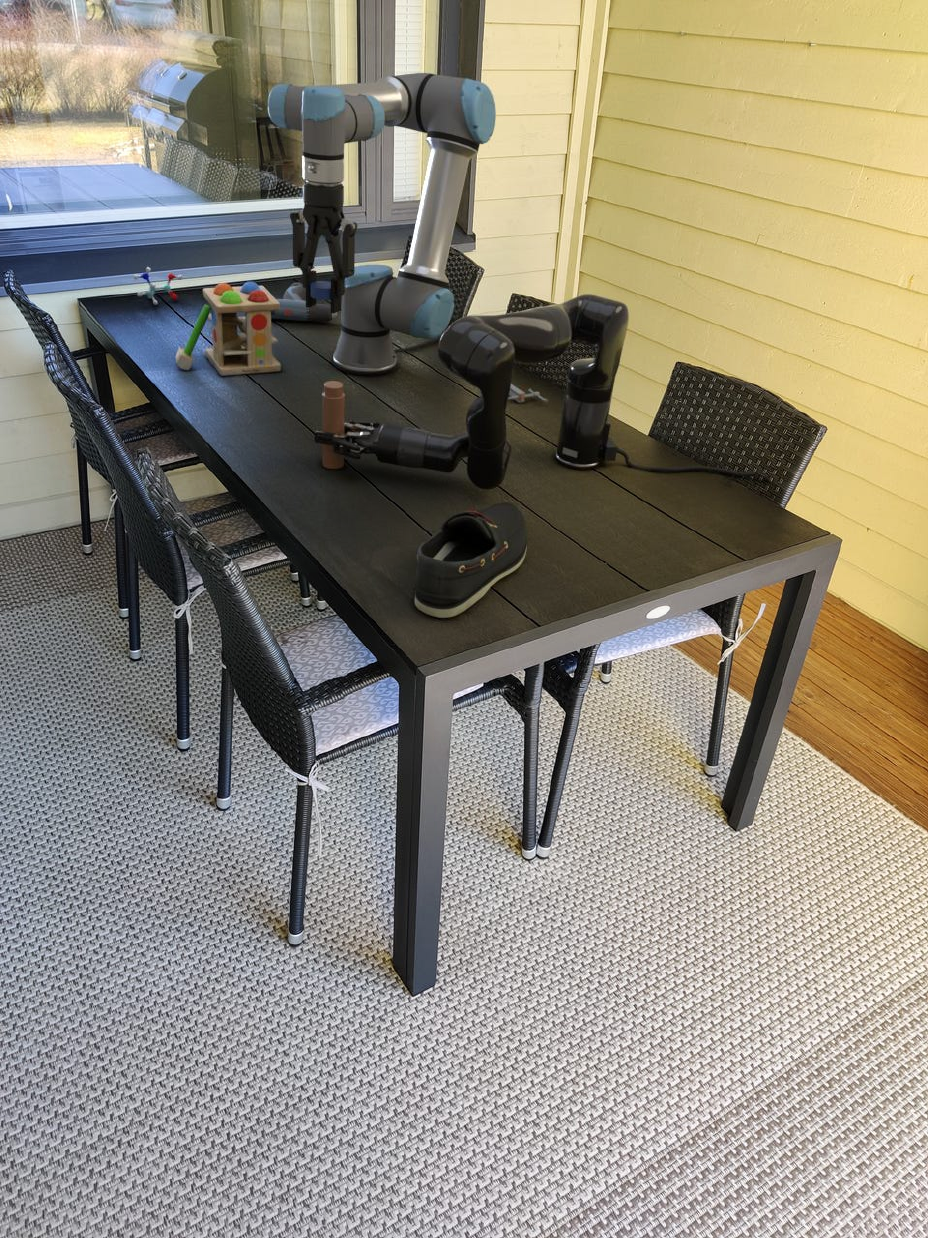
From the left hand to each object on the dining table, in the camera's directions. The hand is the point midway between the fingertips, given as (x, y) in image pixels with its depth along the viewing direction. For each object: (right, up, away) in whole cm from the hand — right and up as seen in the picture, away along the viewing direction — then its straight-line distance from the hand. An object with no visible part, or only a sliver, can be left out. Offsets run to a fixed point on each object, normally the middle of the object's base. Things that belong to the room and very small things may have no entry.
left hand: (323, 308), depth 193 cm
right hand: (0, -25, -5) cm, 26 cm away
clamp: (+39, -9, +36) cm, 54 cm away
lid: (0, +4, -2) cm, 4 cm away
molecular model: (-56, +25, +72) cm, 95 cm away
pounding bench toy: (-28, -2, +37) cm, 47 cm away
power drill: (-15, +22, +74) cm, 79 cm away
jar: (+2, -31, -1) cm, 31 cm away
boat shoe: (+29, -53, -30) cm, 68 cm away
